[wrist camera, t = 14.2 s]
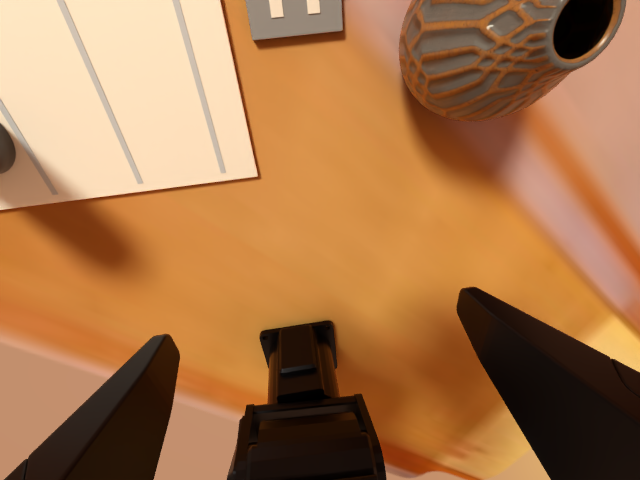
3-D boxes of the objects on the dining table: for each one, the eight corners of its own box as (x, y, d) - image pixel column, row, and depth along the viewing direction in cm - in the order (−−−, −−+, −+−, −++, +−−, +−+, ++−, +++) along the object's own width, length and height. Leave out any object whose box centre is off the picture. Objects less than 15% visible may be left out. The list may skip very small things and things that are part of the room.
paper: (257, 174, 19) (257, 176, 18) (-56, 215, 18) (-62, 218, 17) (191, -136, 12) (189, -141, 11) (-325, -96, 11) (-342, -101, 11)
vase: (358, 69, 16) (425, 73, 9) (440, -81, 13) (638, -259, 6) (446, 131, 19) (557, 176, 11) (531, 15, 16) (754, -28, 8)
